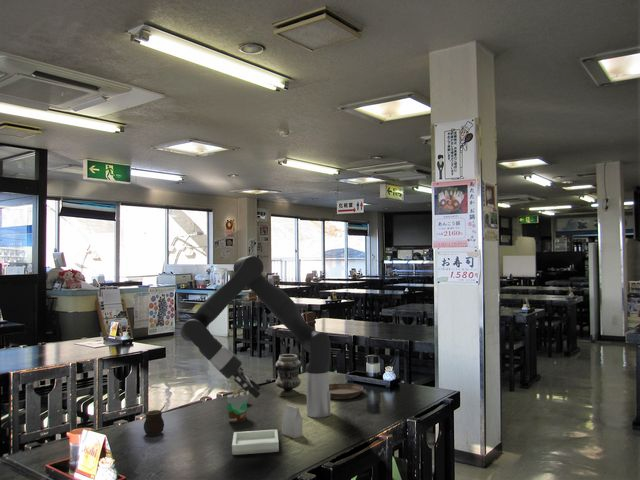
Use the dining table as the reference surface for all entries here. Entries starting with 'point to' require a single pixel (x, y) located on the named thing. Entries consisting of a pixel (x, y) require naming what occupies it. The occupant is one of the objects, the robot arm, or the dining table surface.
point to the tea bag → (292, 422)
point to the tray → (255, 442)
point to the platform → (236, 393)
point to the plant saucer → (344, 390)
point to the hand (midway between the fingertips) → (258, 393)
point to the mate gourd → (154, 422)
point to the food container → (237, 407)
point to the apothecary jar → (288, 374)
